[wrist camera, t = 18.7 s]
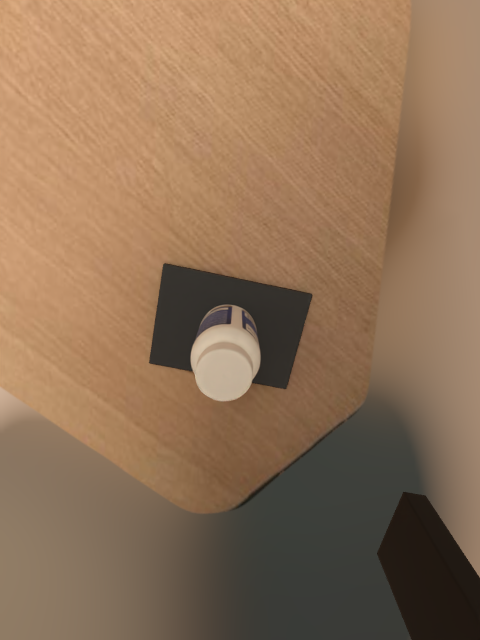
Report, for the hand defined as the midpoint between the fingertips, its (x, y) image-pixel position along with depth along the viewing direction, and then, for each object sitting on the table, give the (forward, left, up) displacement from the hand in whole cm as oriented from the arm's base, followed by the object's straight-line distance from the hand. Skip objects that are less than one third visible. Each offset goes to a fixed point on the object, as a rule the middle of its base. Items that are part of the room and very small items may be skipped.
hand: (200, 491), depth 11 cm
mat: (-1, +2, -22) cm, 22 cm away
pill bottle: (-1, +2, -22) cm, 22 cm away
